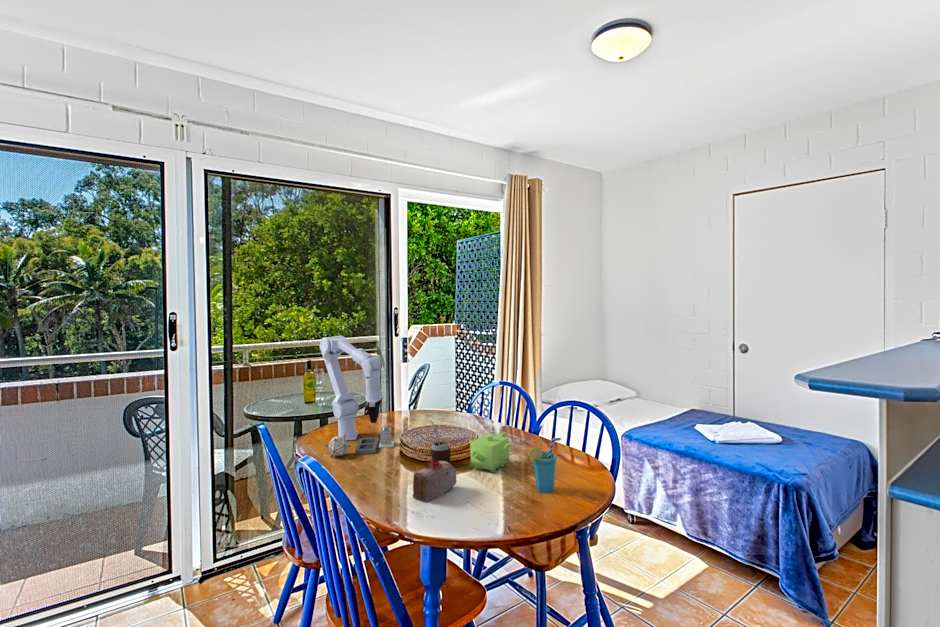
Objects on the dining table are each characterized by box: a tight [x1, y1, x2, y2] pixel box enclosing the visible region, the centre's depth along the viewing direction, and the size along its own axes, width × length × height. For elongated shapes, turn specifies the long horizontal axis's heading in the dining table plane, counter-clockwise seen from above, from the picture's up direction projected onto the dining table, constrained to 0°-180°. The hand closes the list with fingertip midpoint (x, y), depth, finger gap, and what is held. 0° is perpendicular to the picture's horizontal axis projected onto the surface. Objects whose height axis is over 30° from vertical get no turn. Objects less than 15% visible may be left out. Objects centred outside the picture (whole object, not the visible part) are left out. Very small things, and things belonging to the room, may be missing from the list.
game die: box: [324, 434, 352, 458], centre depth 188 cm, size 9×8×10 cm
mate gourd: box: [430, 420, 452, 463], centre depth 175 cm, size 8×8×15 cm
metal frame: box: [354, 436, 380, 456], centre depth 197 cm, size 15×8×2 cm, turn 6°
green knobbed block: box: [468, 431, 514, 473], centre depth 172 cm, size 15×14×11 cm
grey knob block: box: [379, 426, 393, 446], centre depth 200 cm, size 4×4×7 cm
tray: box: [378, 440, 396, 449], centre depth 200 cm, size 6×6×1 cm
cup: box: [526, 437, 562, 494], centre depth 152 cm, size 14×8×15 cm, turn 132°
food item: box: [412, 461, 457, 503], centre depth 152 cm, size 14×8×10 cm, turn 144°
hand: (374, 420), depth 200 cm, fingers open, 7 cm apart
